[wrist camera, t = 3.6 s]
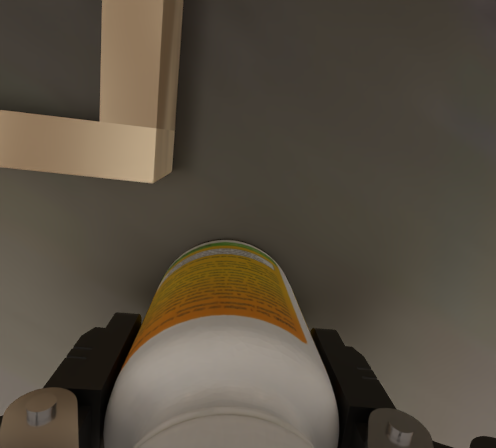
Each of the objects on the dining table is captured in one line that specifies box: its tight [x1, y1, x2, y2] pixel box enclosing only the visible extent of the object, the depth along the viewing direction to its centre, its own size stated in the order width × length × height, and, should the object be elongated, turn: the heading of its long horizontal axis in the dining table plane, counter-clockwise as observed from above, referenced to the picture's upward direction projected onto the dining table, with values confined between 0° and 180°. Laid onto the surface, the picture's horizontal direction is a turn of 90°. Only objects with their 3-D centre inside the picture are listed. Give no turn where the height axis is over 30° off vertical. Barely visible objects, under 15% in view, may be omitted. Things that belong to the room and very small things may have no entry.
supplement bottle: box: [103, 240, 339, 448], centre depth 10 cm, size 5×5×10 cm
